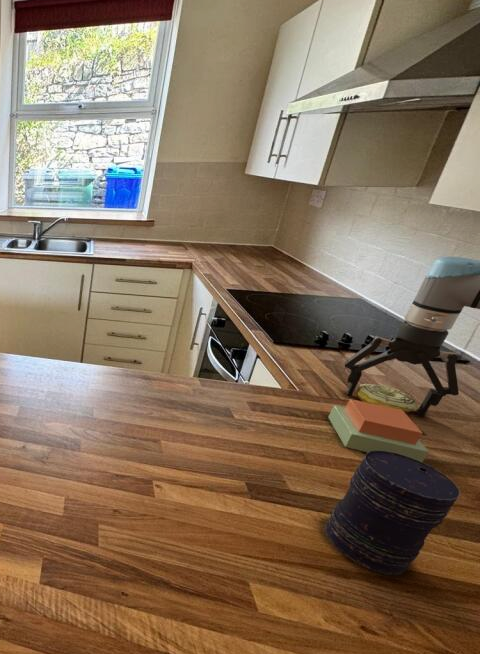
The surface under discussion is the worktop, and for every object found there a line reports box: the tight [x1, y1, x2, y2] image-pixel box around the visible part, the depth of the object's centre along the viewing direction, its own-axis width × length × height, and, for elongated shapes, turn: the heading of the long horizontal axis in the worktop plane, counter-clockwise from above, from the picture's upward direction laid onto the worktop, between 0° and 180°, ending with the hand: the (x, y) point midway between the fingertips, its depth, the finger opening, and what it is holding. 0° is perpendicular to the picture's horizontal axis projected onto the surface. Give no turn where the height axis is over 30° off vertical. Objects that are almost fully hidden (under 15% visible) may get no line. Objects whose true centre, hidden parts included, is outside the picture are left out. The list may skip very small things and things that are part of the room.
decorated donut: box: [356, 383, 419, 414], centre depth 100 cm, size 10×11×4 cm
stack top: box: [345, 398, 423, 445], centre depth 86 cm, size 9×9×3 cm
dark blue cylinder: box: [324, 451, 461, 576], centre depth 60 cm, size 10×10×15 cm
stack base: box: [327, 404, 430, 463], centre depth 87 cm, size 12×12×4 cm
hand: (382, 404), depth 101 cm, fingers open, 12 cm apart
